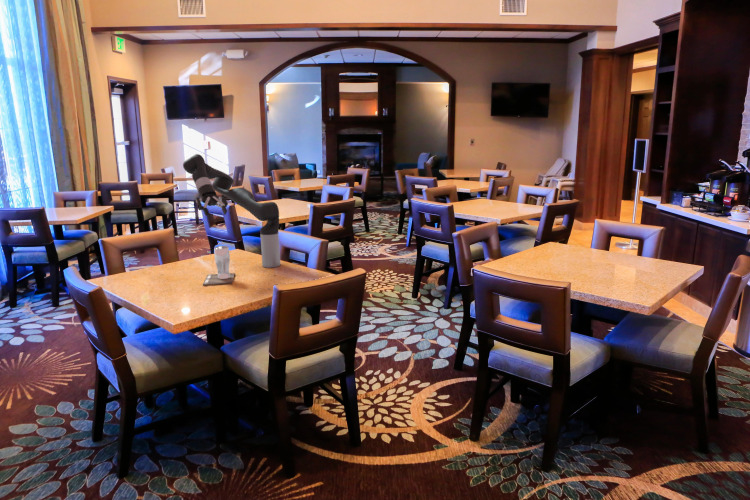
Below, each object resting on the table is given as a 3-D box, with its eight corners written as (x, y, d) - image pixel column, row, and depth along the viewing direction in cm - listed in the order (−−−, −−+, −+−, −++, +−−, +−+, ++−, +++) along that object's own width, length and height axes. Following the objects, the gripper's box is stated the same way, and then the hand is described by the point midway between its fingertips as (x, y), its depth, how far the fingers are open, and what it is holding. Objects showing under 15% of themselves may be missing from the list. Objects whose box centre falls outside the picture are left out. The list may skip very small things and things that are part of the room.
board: (207, 276, 266) (207, 274, 266) (234, 274, 268) (234, 272, 268) (202, 285, 250) (202, 283, 250) (231, 284, 252) (231, 282, 252)
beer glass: (213, 279, 258) (210, 248, 254) (222, 275, 264) (219, 245, 260) (225, 280, 255) (222, 249, 252) (234, 276, 261) (231, 246, 258)
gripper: (217, 192, 272) (229, 217, 266) (189, 195, 263) (200, 221, 257) (220, 182, 267) (232, 207, 261) (192, 184, 258) (204, 211, 252)
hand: (217, 214), depth 259 cm, fingers open, 8 cm apart
